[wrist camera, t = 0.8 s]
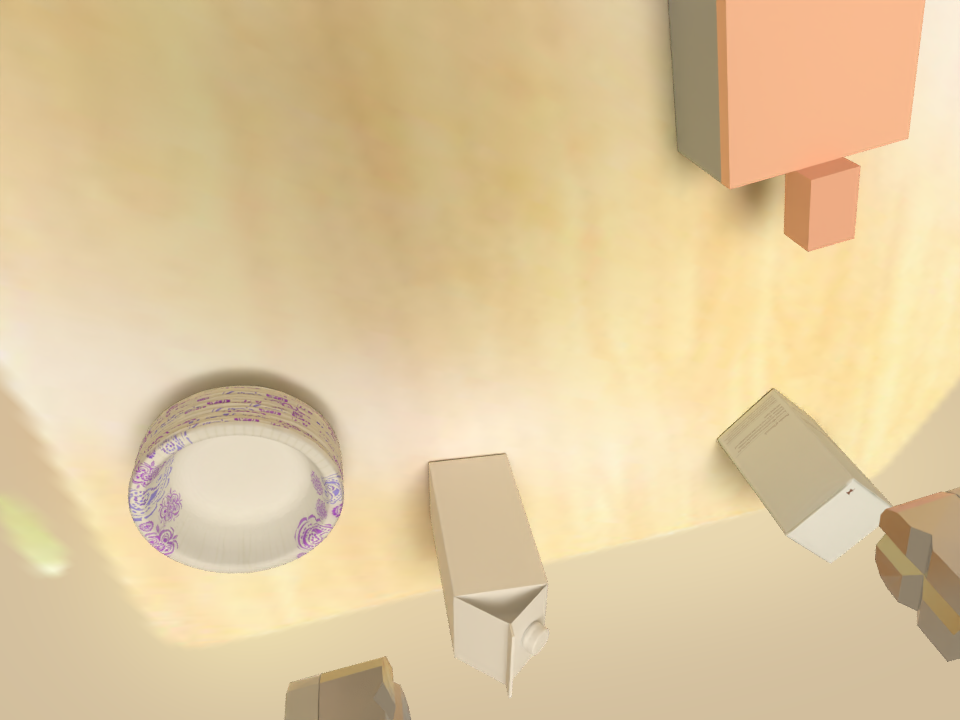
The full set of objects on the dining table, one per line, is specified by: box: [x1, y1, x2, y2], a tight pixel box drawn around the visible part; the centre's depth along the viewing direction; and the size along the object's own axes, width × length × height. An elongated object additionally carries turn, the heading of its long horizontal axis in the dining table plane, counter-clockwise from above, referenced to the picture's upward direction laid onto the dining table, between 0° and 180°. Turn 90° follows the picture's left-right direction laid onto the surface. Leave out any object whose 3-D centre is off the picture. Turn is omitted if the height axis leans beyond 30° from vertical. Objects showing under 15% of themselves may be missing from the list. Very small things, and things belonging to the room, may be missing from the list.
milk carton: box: [429, 454, 549, 698], centre depth 59 cm, size 7×7×19 cm
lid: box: [716, 0, 925, 252], centre depth 43 cm, size 21×12×3 cm, turn 12°
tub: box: [668, 0, 721, 183], centre depth 46 cm, size 16×12×7 cm
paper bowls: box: [128, 386, 344, 573], centre depth 56 cm, size 15×15×8 cm
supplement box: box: [718, 389, 893, 563], centre depth 65 cm, size 7×7×13 cm
